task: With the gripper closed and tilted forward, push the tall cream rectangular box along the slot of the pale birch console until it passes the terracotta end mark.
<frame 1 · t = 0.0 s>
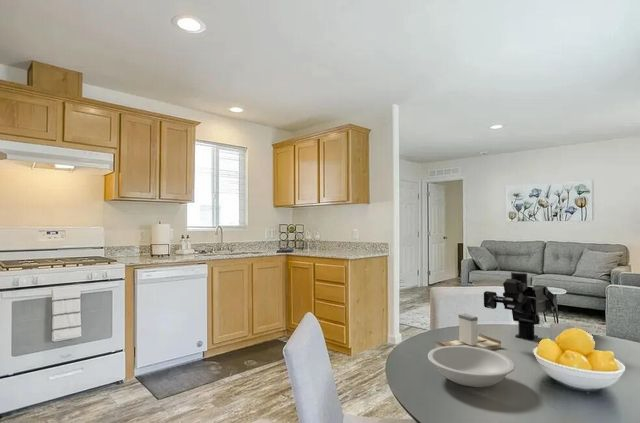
hand: (500, 306, 137), 17 cm above the table, tool horizontal, fingers open, 9 cm apart
soup bowl: (469, 381, 112), on the table
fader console: (468, 347, 141), on the table
cream rectangular box: (468, 329, 142), point 7 cm above the table, slide at 0.0 cm
white cup: (563, 355, 134), on the table
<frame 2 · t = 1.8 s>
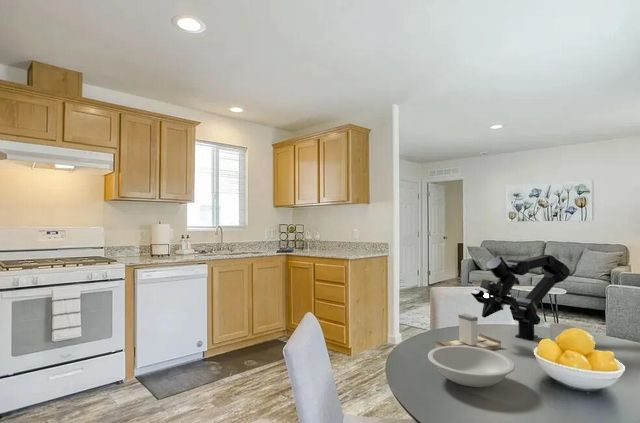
hand: (483, 316, 145), 11 cm above the table, tool tilted 45°, fingers closed
nothing on the table moved.
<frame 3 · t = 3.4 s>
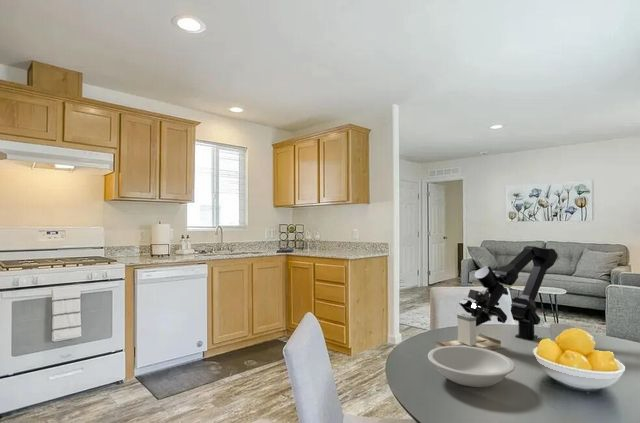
hand: (470, 327, 142), 7 cm above the table, tool tilted 45°, fingers closed, pressing on cream rectangular box
cream rectangular box: (466, 329, 141), point 7 cm above the table, slide at 0.7 cm, touching gripper
everything else where it was.
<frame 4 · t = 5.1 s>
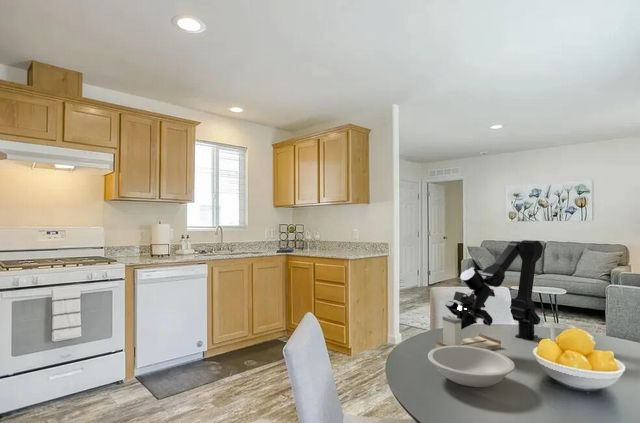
hand: (455, 330, 139), 7 cm above the table, tool tilted 45°, fingers closed, pressing on cream rectangular box
cream rectangular box: (452, 331, 138), point 7 cm above the table, slide at 7.7 cm, touching gripper
everything else where it was.
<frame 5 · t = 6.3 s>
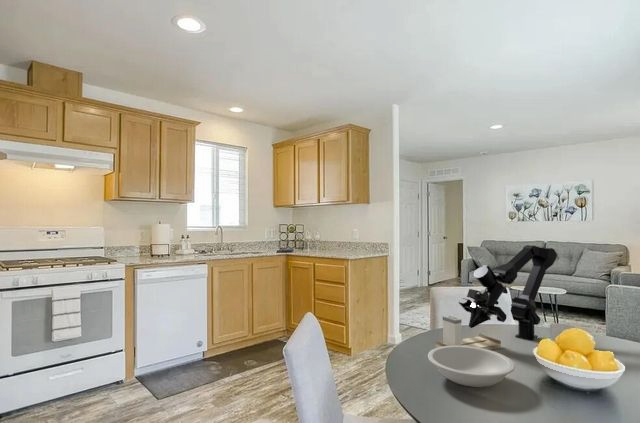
hand: (470, 327, 142), 8 cm above the table, tool tilted 45°, fingers closed
cream rectangular box: (452, 331, 138), point 7 cm above the table, slide at 7.7 cm
everything else where it was.
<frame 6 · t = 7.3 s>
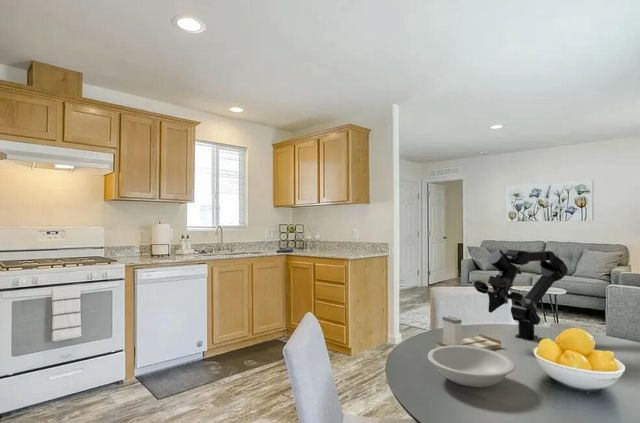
hand: (489, 312, 145), 12 cm above the table, tool tilted 35°, fingers closed
nothing on the table moved.
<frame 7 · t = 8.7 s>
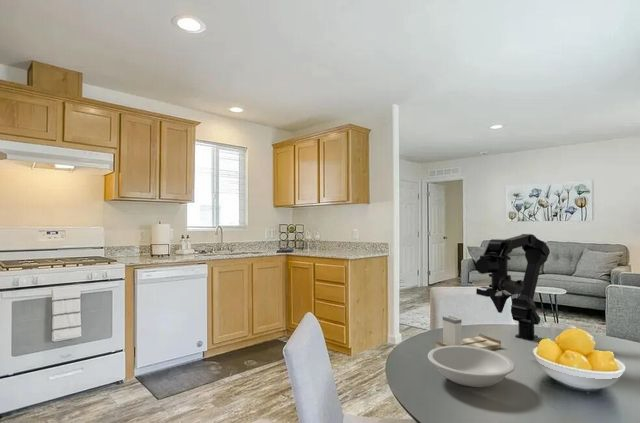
hand: (500, 312, 146), 12 cm above the table, tool pointing down, fingers closed
nothing on the table moved.
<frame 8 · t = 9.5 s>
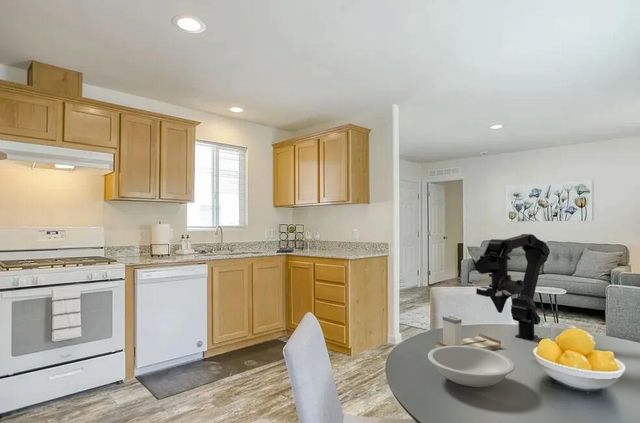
hand: (500, 312, 146), 12 cm above the table, tool pointing down, fingers closed
nothing on the table moved.
at the end: cream rectangular box slide at 7.7 cm; the gripper is holding nothing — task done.
